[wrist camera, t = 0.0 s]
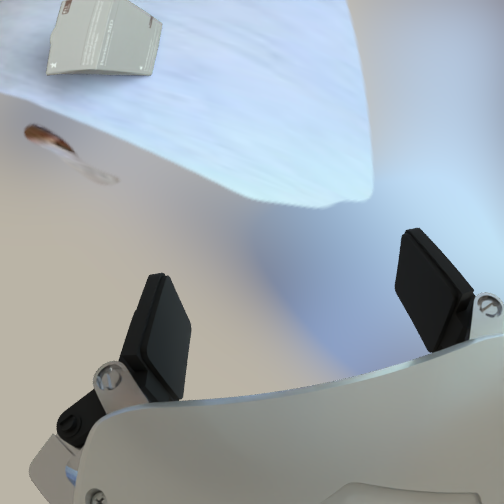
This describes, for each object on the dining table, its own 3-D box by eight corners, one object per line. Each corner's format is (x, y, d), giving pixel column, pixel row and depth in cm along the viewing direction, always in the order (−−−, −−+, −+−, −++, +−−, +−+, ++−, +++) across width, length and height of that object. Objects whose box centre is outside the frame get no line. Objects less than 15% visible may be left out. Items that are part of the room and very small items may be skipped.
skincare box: (153, 75, 31) (102, 75, 18) (107, 75, 30) (41, 80, 17) (165, 20, 27) (122, -11, 14) (117, 21, 26) (56, 0, 13)
